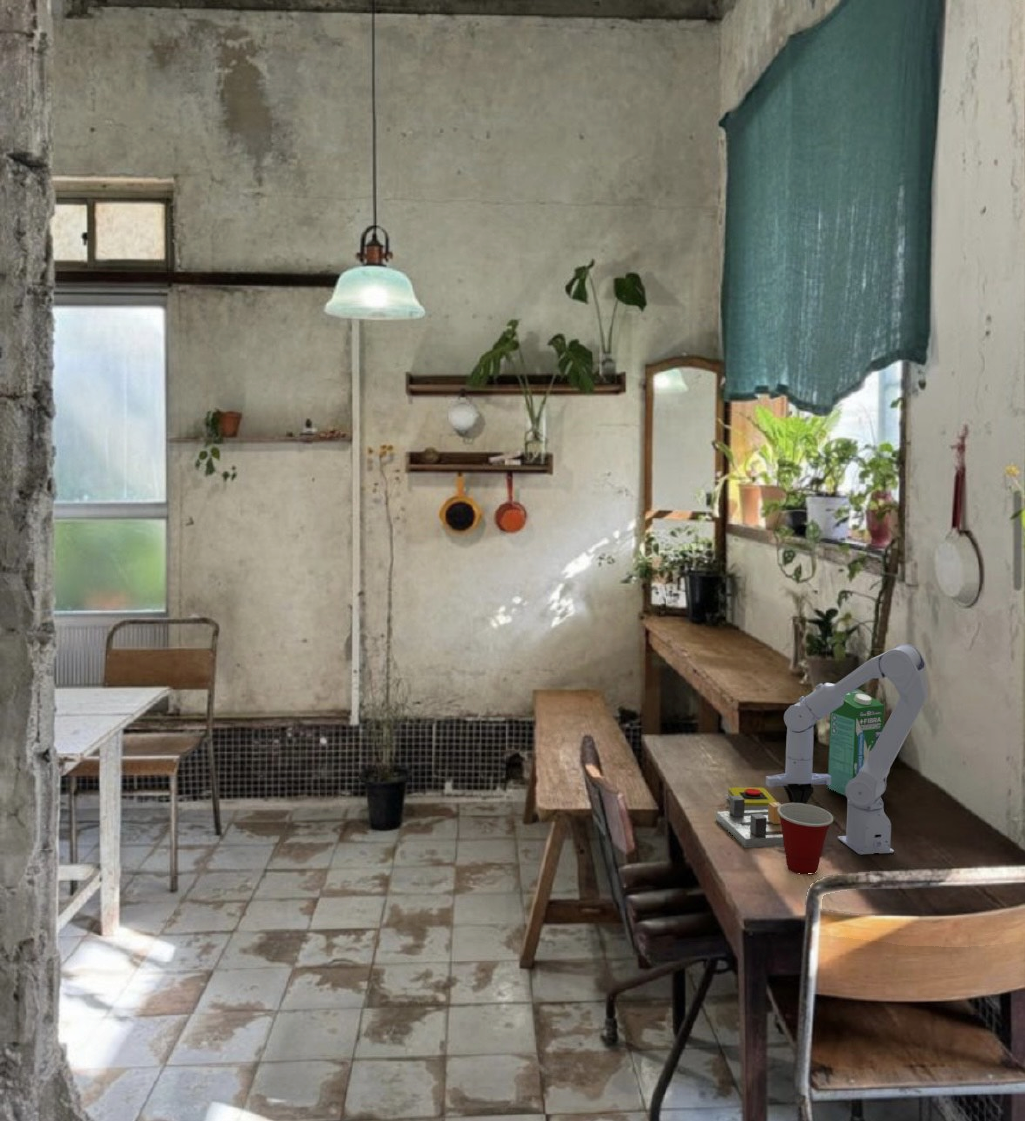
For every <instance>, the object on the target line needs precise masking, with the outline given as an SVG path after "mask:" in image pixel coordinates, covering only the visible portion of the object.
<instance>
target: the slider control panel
mask: <svg viewBox="0 0 1025 1121" xmlns="http://www.w3.org/2000/svg"><path fill="white" fill-rule="evenodd" d="M744 804H745V800H744V799H743V798H742V797H741V796H730V802H729V809H728V810H727V811H726V810H724V811H716V822H717V823H719V825H720V826H722V827H723V828H724V829H725V830H726V831H727V830H728V831H729V832H730V833H731V834H730V833H729V832H728V831H727V832H728V833H729V834H730V835H733V836H734V837H735V838H736V839H737V840H738V841H737V840H736V839H735V838H734V837H733V836H732V837H733V838H734V839H735V840H736V841H737V842H738V843H740V844H741V845H742V846H743V847H744V848H745V849H757V848H773V847H774V848H775V846H778V847H784V843H783V834H782V826H781V824H773V823H772V822H770V821H769V820H768V810H745V811H744Z"/></svg>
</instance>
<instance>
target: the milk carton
mask: <svg viewBox="0 0 1025 1121" xmlns="http://www.w3.org/2000/svg"><path fill="white" fill-rule="evenodd" d="M829 718H830V719H829V739H828V740H829V741H828V742H829V744H828V746H829V747H828V764H827V765H828V767H827V768H828V770H827V774H828V775H830V776H831V785H827V789H828V788H829V789H828V790H830V789H831V790H830V791H833V790H834V792H835V791H836V793H837V794H840V795H843V796H845V797H846V793H845V788H846V785H847V783H848V782H849V781H850V780H852V779H853V778H855V777H856V776H857V775H858V773H859V771H860V769H861V768H862V766H863V765H864V764H865V762H866V761H867V759H868V757H869V755H870V753H871V751H872V749H873V747H874V746H875V744H876V742H877V740H878V738H879V736H880V734H881V732H882V730H883V728H884V727H885V724H884V723H885V704H883V703H882V702H881V701H878V700H877V699H875V698H874V697H872V696H871V695H869V694H867V693H866V692H864V691H863V690H860V689H859V688H856V689H854V690H853V691H851V692H850V693H848V694H846V695H845V697H844V703H843V705H842V706H840V707H839V708H837V709H836V710H834V711H833V712H831V713H830V715H829Z"/></svg>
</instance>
